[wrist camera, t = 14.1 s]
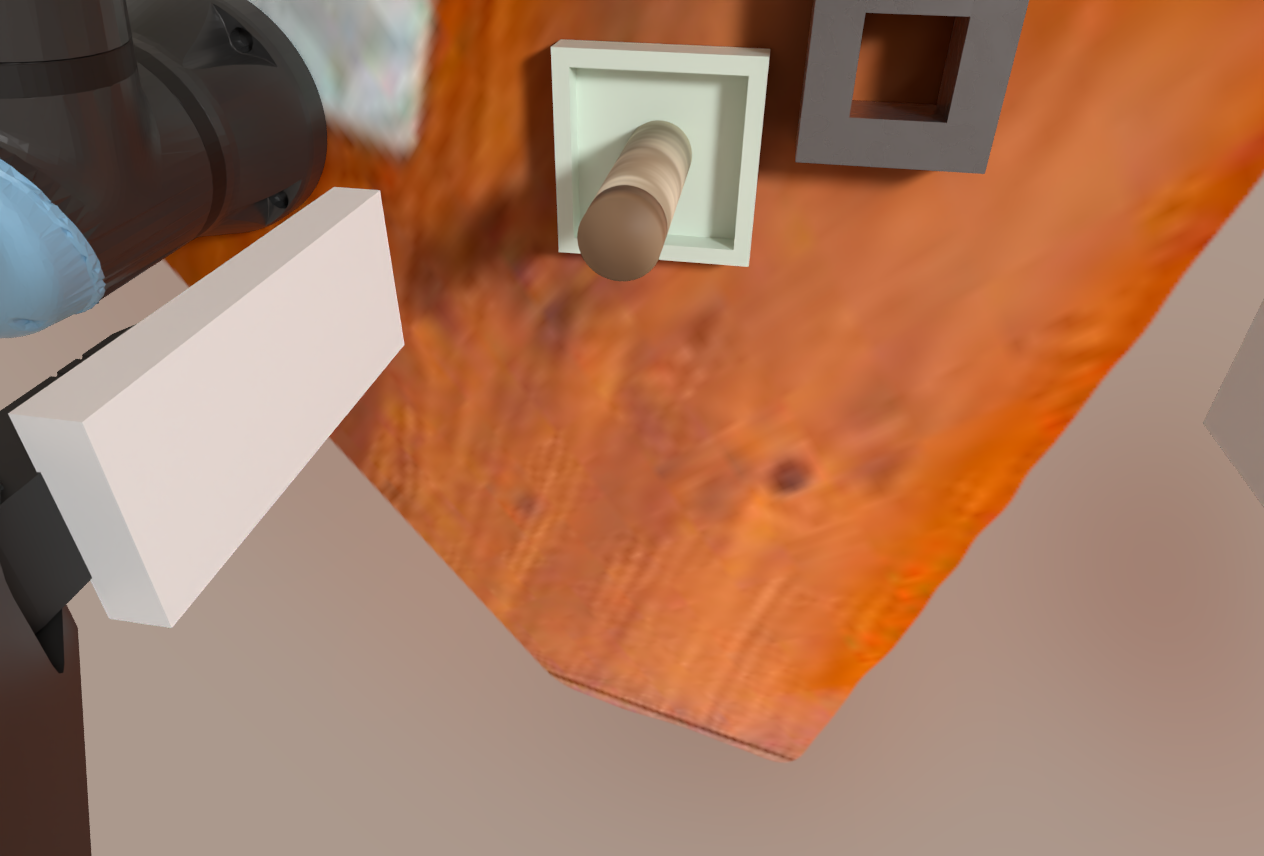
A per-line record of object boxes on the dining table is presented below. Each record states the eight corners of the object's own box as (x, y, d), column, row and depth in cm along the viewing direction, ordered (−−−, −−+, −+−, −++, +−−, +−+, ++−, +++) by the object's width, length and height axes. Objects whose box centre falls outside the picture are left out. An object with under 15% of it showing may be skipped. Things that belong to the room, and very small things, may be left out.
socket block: (795, 142, 49) (795, 162, 45) (819, -54, 43) (821, -47, 40) (971, 152, 47) (984, 173, 44) (1020, -49, 42) (1039, -41, 38)
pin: (626, 185, 51) (578, 278, 40) (626, 118, 49) (576, 196, 37) (690, 189, 51) (660, 284, 39) (694, 122, 48) (663, 202, 37)
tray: (567, 237, 54) (558, 251, 52) (560, 39, 48) (550, 47, 46) (750, 251, 53) (748, 266, 51) (770, 48, 46) (769, 56, 44)
